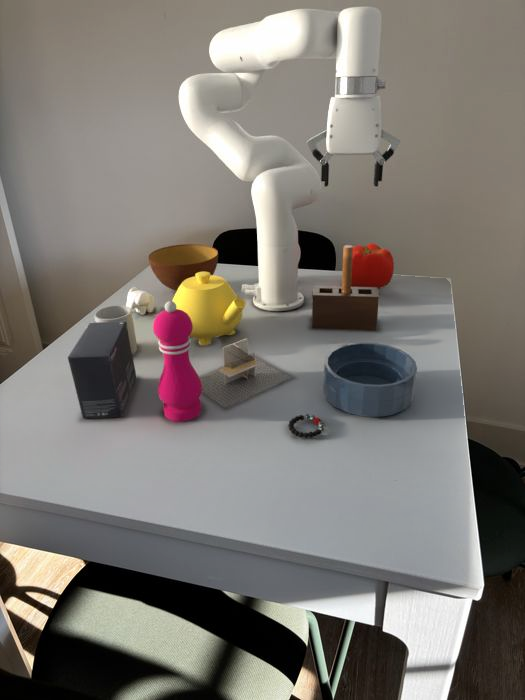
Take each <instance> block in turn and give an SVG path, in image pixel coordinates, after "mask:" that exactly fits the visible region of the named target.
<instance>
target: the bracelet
mask: <svg viewBox="0 0 525 700" xmlns="http://www.w3.org/2000/svg"><path fill="white" fill-rule="evenodd" d="M304 419H306V420H309V419H310V421H313V423H314V424H315V425H318V428H317V429H316V430H313V431H309V432H302V431H299V430H297V429H296V427H295V424H296V423H297V422H299V421H304ZM287 427H288V430H289V431H290V433H291V434H292V435H294V436H295V437H298V438H300V439H301V438H304V439H308V438H313V437H315V438H316V437H317V436H320V435H321V434H322V432H324V431H325V423H324V422H323V420H322V419H321V418H320V417H317V416H315V414H311V415H310V413H309V414H308V413H306V414H300V415H296V416H295V417H292V418H291V419H290V420H289V421H288V425H287Z"/></svg>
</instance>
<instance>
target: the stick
mask: <svg viewBox="0 0 525 700" xmlns="http://www.w3.org/2000/svg"><path fill="white" fill-rule="evenodd" d="M353 247H354V245H352V244H345V245H344V246H343V248H342V249H343V250H342V251H343V252H342V271H341V287H342V290H341V294H351V278H352V261H353Z"/></svg>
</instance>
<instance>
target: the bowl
mask: <svg viewBox="0 0 525 700" xmlns="http://www.w3.org/2000/svg"><path fill="white" fill-rule="evenodd" d="M148 262H149V265H150V269H151V271H152V272H153V274H154V276H155V277H156V278H157V279H158V281H159V283H161V284H162V285H163V286H165V287H166V288H168V289H170V290H173V291H174V292H175V293H176V292H177V290H178V288H179V286H180V285H181V283H182V282H183V281H184V280H186V279H188V278H190V277H194V276H196V275H195V274H196V273H198V272H204V271H205V272H209V273H210V275H214V274H215V272H216V269H217V266H218V262H219V252H218V250H217V249H216V248H215V247H213V246H209V245H206V244H198V243H197V244H195V243H187V244H176V245H169V246H164V247H161V248H158V249H155V250H153V251H152V252H151V253H150V254H148Z"/></svg>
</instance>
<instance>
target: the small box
mask: <svg viewBox="0 0 525 700" xmlns="http://www.w3.org/2000/svg"><path fill="white" fill-rule="evenodd" d="M86 327H87V328H86ZM86 327H85V330H83V333H82V334H81V335H80V337H79V339H78V341H77V342H76V343H75V345H74V347H73V348H72V350H71V351H70V353H69V355H68V356H67V360H68V361H67V362H68V364H69V368H70V372H71V377H72V381H73V384H74V388H75V392H76V396H77V400H78V404H79V408H80V412H81V416H82V419H104V418H106V419H107V418H123V415H124V412H125V410H126V407H127V404H128V401H129V400H130V397H131V394H132V390H133V388H134V385H135V383H136V379H137V373H136V367H135V362H134V357H133V355H132V352H131V347H130V341H129V335H128V329H127V322H126V321H116V322H95V323H91V322H89V323H88V325H87V326H86Z"/></svg>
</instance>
